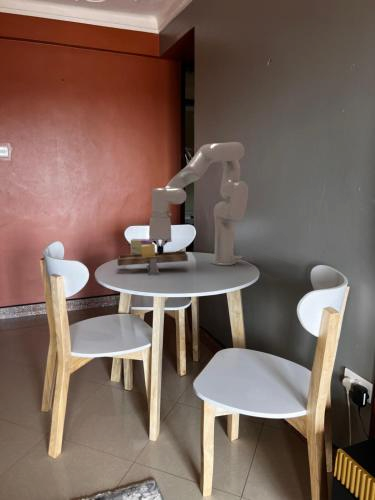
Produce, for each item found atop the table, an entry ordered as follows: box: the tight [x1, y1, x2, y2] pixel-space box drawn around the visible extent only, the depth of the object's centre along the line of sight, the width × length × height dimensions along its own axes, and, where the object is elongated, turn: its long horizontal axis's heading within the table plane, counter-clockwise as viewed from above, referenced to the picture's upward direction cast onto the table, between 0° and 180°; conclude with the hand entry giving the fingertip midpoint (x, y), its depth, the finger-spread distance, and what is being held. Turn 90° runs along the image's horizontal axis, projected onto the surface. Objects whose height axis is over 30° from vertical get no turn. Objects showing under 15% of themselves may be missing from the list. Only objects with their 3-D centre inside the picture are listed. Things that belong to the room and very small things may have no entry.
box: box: [130, 238, 153, 254], centre depth 196 cm, size 10×6×12 cm, turn 84°
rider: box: [142, 243, 156, 258], centre depth 177 cm, size 6×5×6 cm
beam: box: [117, 250, 189, 266], centre depth 178 cm, size 32×10×3 cm, turn 97°
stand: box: [146, 258, 160, 276], centre depth 178 cm, size 5×17×7 cm, turn 7°
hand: (160, 254), depth 178 cm, fingers closed
